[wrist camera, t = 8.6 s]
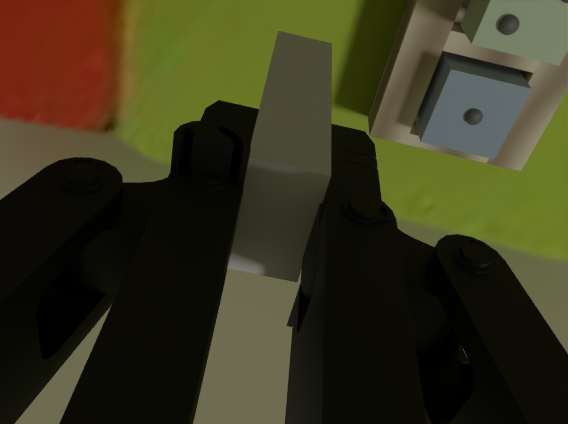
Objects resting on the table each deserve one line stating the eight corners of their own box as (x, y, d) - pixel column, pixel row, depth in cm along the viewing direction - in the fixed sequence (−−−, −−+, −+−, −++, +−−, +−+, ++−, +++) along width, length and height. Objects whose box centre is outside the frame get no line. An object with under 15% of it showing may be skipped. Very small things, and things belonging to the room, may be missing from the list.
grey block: (414, 118, 44) (420, 143, 40) (442, 49, 40) (451, 70, 37) (483, 134, 44) (494, 160, 41) (517, 67, 41) (532, 89, 37)
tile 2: (460, 25, 37) (472, 45, 34) (498, -68, 34) (515, -56, 30) (540, 45, 37) (560, 67, 34) (587, -45, 34) (613, -31, 31)
